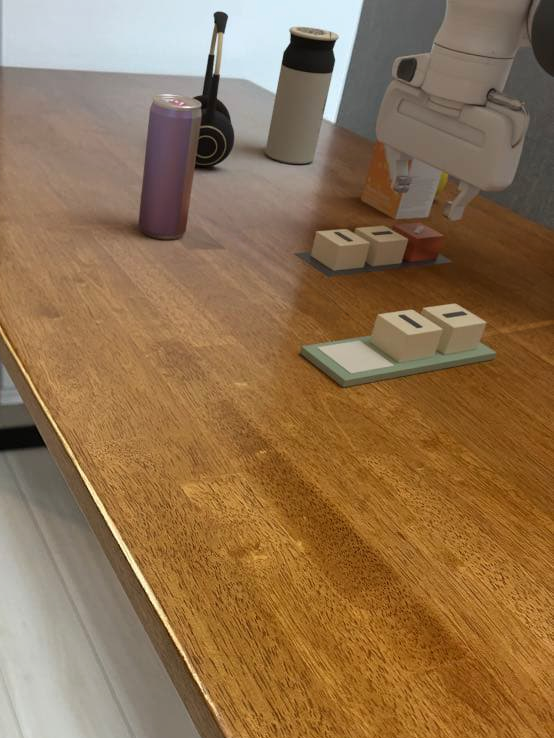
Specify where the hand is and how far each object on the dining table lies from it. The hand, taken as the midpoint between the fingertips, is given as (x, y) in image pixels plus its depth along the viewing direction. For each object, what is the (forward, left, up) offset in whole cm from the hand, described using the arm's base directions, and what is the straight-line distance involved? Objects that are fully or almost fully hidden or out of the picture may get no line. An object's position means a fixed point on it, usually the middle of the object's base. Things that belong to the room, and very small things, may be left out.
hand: (424, 204), depth 104 cm
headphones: (+7, -41, -7) cm, 42 cm away
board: (+6, 0, -7) cm, 9 cm away
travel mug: (-10, -41, -7) cm, 43 cm away
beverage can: (+28, -15, -7) cm, 32 cm away
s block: (0, 0, -6) cm, 6 cm away
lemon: (-18, -18, -7) cm, 27 cm away
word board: (+20, +21, -7) cm, 30 cm away
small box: (-10, -15, -7) cm, 19 cm away
